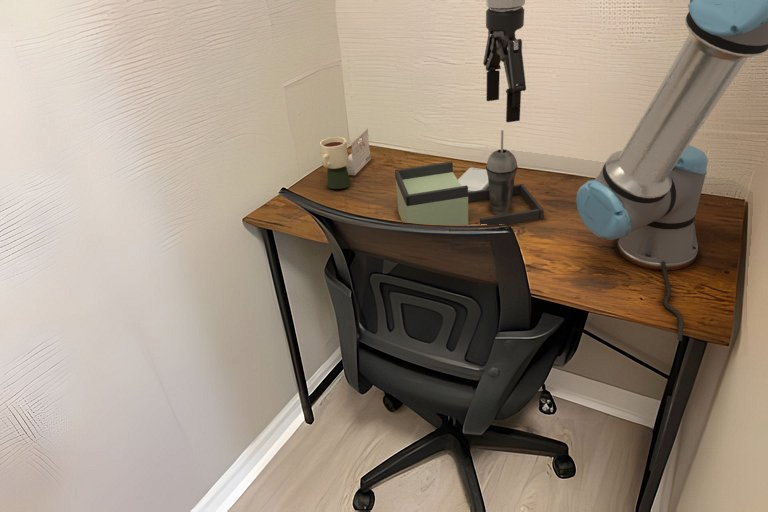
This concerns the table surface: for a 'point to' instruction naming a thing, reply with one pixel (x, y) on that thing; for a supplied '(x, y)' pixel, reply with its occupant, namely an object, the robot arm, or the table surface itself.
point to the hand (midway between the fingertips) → (502, 110)
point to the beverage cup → (501, 179)
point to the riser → (449, 198)
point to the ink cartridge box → (359, 154)
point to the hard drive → (474, 179)
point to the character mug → (335, 161)
